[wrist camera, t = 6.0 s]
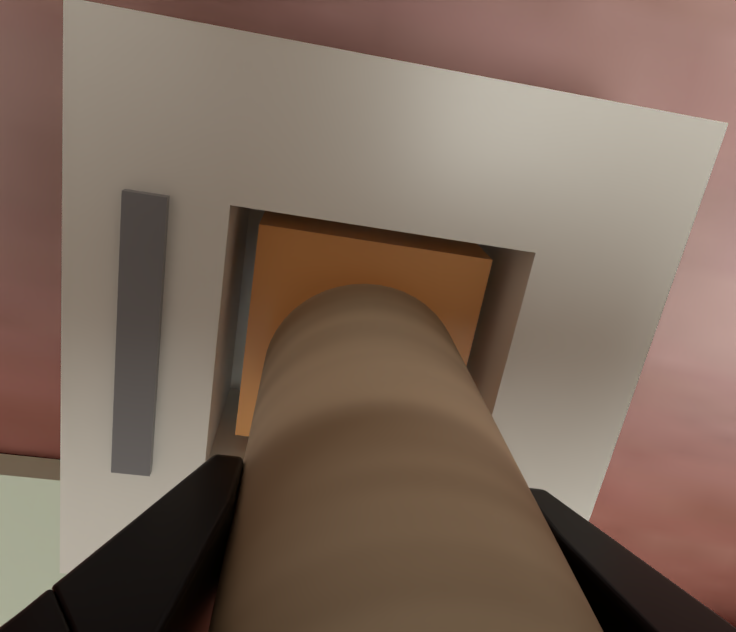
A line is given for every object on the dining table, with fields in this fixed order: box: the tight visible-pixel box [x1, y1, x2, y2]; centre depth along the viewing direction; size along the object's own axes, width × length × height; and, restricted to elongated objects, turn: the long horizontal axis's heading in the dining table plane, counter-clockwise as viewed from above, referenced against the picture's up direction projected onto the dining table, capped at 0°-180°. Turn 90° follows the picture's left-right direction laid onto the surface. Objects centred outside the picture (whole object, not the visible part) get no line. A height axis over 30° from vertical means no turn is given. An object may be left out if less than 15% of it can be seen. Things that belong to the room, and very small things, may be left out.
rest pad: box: [0, 454, 67, 627], centre depth 20 cm, size 9×9×1 cm
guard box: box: [60, 0, 728, 574], centre depth 15 cm, size 12×12×5 cm
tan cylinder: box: [208, 284, 603, 632], centre depth 8 cm, size 4×4×10 cm
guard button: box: [235, 211, 493, 436], centre depth 15 cm, size 5×5×2 cm
